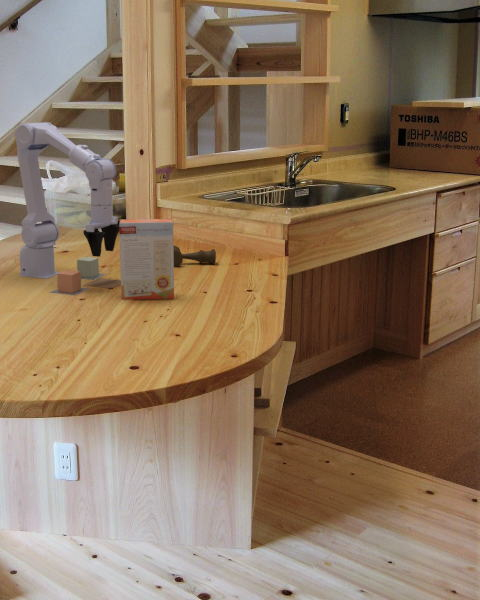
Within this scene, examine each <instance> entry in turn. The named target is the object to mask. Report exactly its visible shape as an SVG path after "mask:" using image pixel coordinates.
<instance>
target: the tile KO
mask: <svg viewBox="0 0 480 600" xmlns="http://www.w3.org/2000/svg"><path fill="white" fill-rule="evenodd" d="M88 290H90V288H87V287H81V290H79V291H76V292H74V293H66V292H58V288H56V289H54V290H52V291H50V292H48V293H49V294H58V295H60V294H61V295H66V296H67V295H68V296H77V295H80V294H82V293H84V292H87V291H88Z"/></svg>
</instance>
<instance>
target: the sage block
mask: <svg viewBox="0 0 480 600" xmlns="http://www.w3.org/2000/svg"><path fill="white" fill-rule="evenodd" d="M76 265H77V266H76V269H77V270H76V271H80V272H81V277H86V278H92V277H95V276H97V275H99V273H100V270H99V267H100V266H99V265H100V264H99V257H92V256H91V257H89V256H83V257H81V258H78V259H77V260H76Z"/></svg>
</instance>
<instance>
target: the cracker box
mask: <svg viewBox="0 0 480 600" xmlns="http://www.w3.org/2000/svg"><path fill="white" fill-rule="evenodd" d="M118 225H119V260H120V280H121V285H120V288H121V289H120V291H121V293H120V294H121V296H120V297H121V300H132V301H137V300H138V301H141V300H173V299H174V298H175V271H174V269H175V267H174V251H173V245H174V221H173V218H133V219H132V218H129V219H127V218H126V219H119V224H118Z"/></svg>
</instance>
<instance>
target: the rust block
mask: <svg viewBox="0 0 480 600" xmlns="http://www.w3.org/2000/svg"><path fill="white" fill-rule="evenodd" d="M59 272H60V273H58V274H57V275H56V278H57V289H58V292H66V293H74V292H76V291H79V290H81V288H82V279H81V272H80V271H77V270H70V269H66V270H63V271H59Z"/></svg>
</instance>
